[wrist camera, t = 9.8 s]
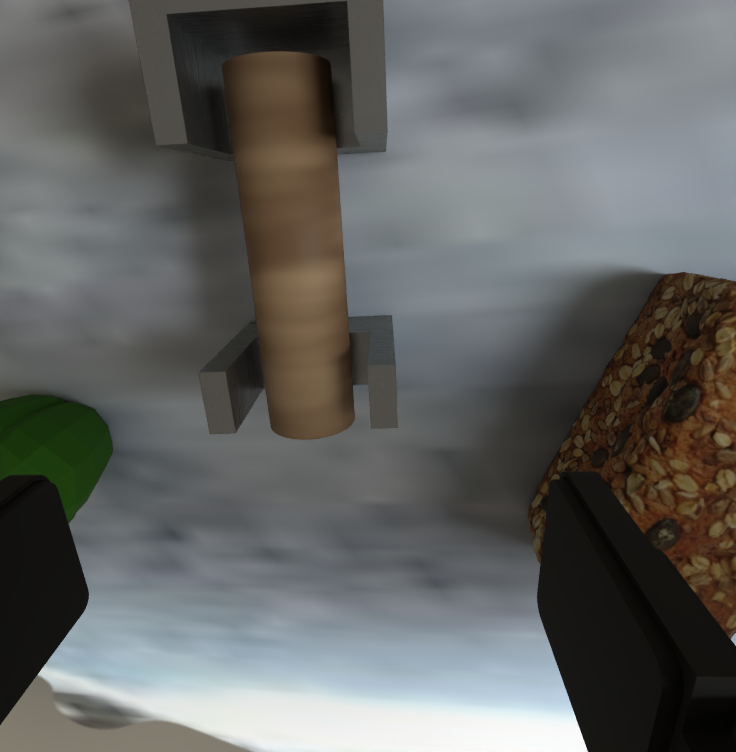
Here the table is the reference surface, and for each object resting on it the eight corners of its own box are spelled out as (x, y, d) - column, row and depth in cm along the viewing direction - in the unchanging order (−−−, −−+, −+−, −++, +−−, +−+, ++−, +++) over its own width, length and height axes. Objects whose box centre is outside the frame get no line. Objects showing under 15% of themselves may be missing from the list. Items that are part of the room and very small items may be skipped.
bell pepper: (151, 472, 34) (63, 580, 24) (44, 494, 34) (-81, 606, 25) (101, 361, 31) (-21, 434, 21) (-14, 387, 32) (-180, 469, 22)
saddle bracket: (391, 315, 29) (395, 364, 21) (393, 362, 30) (397, 427, 22) (250, 321, 30) (198, 372, 21) (257, 367, 31) (209, 434, 22)
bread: (640, 556, 35) (734, 687, 26) (508, 508, 34) (556, 628, 25) (814, 323, 29) (1021, 385, 20) (658, 256, 28) (799, 287, 18)
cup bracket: (381, 37, 24) (381, -47, 16) (385, 151, 26) (387, 131, 18) (212, 49, 25) (123, -27, 16) (228, 160, 26) (156, 145, 18)
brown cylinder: (246, 82, 22) (202, 58, 18) (340, 73, 22) (317, 46, 17) (285, 402, 28) (258, 438, 24) (360, 403, 27) (346, 440, 23)
